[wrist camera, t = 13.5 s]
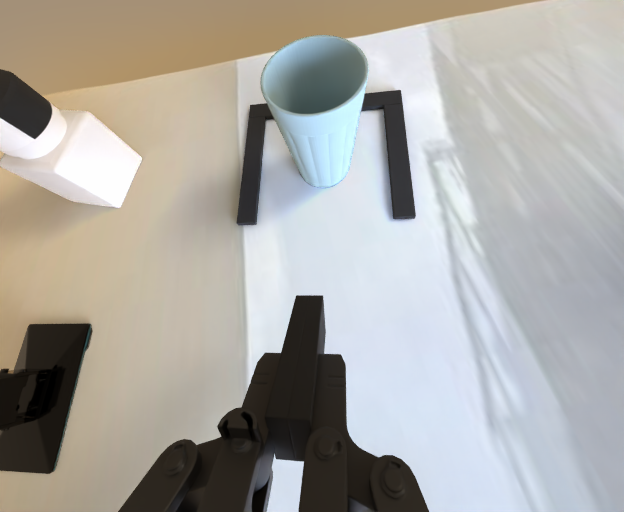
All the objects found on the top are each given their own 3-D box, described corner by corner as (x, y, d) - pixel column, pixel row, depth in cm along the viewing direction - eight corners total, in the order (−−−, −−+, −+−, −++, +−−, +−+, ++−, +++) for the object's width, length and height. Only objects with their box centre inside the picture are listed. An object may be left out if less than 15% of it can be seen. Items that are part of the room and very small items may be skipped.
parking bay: (414, 218, 24) (415, 216, 24) (238, 225, 27) (236, 223, 26) (399, 93, 29) (400, 89, 29) (251, 108, 31) (250, 104, 31)
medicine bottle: (97, 153, 32) (-38, 56, 21) (144, 158, 31) (28, 56, 20) (72, 202, 30) (-91, 124, 19) (121, 209, 29) (-22, 129, 18)
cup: (294, 204, 26) (264, 126, 17) (285, 146, 29) (255, 48, 19) (365, 189, 26) (379, 101, 16) (351, 132, 28) (355, 24, 18)
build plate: (33, 324, 26) (-29, 321, 22) (95, 323, 25) (43, 320, 21) (-14, 467, 22) (-101, 499, 18) (58, 472, 22) (-16, 507, 17)
